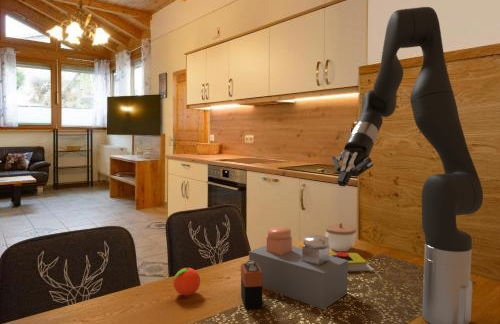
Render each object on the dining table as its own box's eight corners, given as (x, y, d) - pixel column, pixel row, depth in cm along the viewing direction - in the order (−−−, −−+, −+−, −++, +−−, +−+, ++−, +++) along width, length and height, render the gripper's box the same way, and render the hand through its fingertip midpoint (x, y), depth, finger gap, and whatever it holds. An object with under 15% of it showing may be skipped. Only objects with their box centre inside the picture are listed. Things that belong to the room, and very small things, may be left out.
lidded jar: (339, 255, 129) (339, 228, 128) (319, 247, 139) (319, 222, 138) (361, 250, 134) (362, 224, 134) (341, 242, 144) (341, 218, 143)
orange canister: (295, 261, 106) (295, 229, 105) (281, 267, 101) (281, 234, 101) (277, 256, 110) (277, 225, 110) (263, 261, 106) (263, 230, 105)
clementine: (181, 304, 93) (181, 276, 92) (164, 296, 97) (164, 269, 97) (205, 293, 99) (205, 267, 98) (188, 286, 103) (188, 261, 103)
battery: (257, 296, 97) (257, 258, 96) (262, 308, 90) (263, 268, 90) (240, 297, 96) (240, 259, 95) (245, 310, 90) (245, 269, 89)
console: (347, 293, 99) (347, 260, 98) (323, 309, 90) (323, 273, 89) (275, 270, 115) (275, 242, 114) (249, 282, 106) (249, 251, 105)
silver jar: (332, 271, 98) (333, 237, 97) (319, 278, 93) (320, 243, 93) (311, 265, 102) (312, 233, 102) (298, 272, 98) (298, 238, 97)
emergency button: (318, 250, 123) (363, 248, 124) (318, 263, 123) (362, 261, 124) (327, 259, 114) (374, 258, 115) (326, 273, 114) (374, 272, 115)
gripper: (337, 131, 116) (315, 174, 108) (379, 131, 107) (359, 178, 99) (345, 148, 120) (325, 190, 112) (386, 149, 111) (367, 195, 103)
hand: (341, 184), depth 105 cm, fingers closed
